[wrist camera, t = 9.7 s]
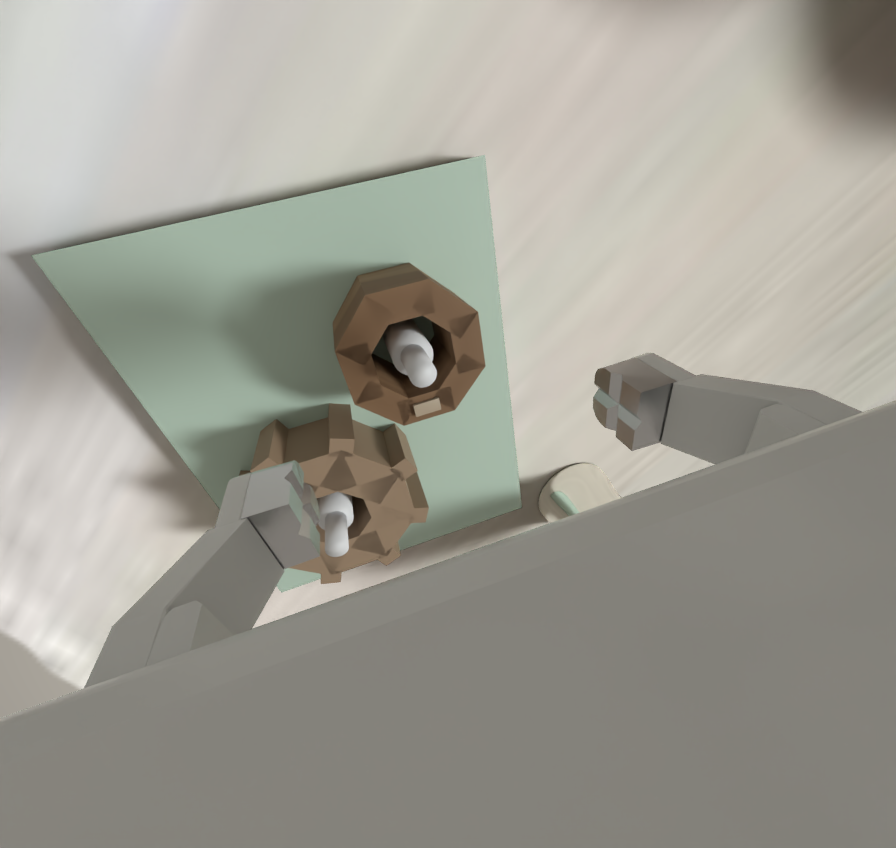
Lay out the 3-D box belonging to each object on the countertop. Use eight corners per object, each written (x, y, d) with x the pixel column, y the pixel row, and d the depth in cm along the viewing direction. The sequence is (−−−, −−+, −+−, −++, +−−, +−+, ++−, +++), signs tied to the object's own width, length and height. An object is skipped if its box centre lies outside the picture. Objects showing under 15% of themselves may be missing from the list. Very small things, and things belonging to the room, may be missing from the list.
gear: (319, 284, 17) (317, 308, 14) (445, 253, 18) (473, 268, 15) (359, 398, 21) (366, 439, 17) (464, 367, 21) (491, 400, 18)
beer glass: (516, 509, 31) (644, 721, 19) (573, 445, 29) (759, 633, 17) (569, 532, 34) (707, 722, 22) (623, 475, 32) (808, 650, 20)
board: (54, 250, 15) (-106, 285, 10) (473, 157, 18) (546, 141, 12) (283, 574, 28) (272, 675, 22) (513, 494, 30) (559, 567, 24)
